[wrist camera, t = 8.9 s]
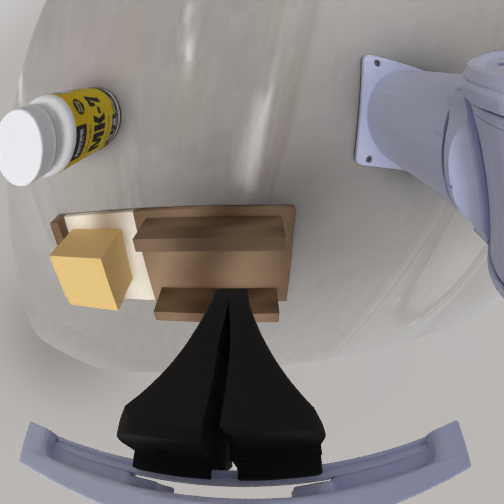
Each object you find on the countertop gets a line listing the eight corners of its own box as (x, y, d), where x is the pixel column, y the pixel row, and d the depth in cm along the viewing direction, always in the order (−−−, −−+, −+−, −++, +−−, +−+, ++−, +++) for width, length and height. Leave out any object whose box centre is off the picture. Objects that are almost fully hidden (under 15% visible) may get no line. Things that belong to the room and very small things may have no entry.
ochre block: (121, 229, 20) (100, 258, 17) (132, 278, 23) (118, 310, 19) (73, 228, 20) (49, 255, 16) (87, 274, 23) (69, 303, 19)
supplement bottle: (124, 145, 17) (56, 191, 10) (73, 152, 17) (0, 199, 10) (121, 80, 14) (42, 89, 7) (67, 93, 14) (-15, 116, 7)
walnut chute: (294, 205, 20) (302, 229, 17) (285, 296, 25) (290, 326, 22) (58, 215, 19) (37, 235, 17) (88, 292, 24) (74, 316, 22)
